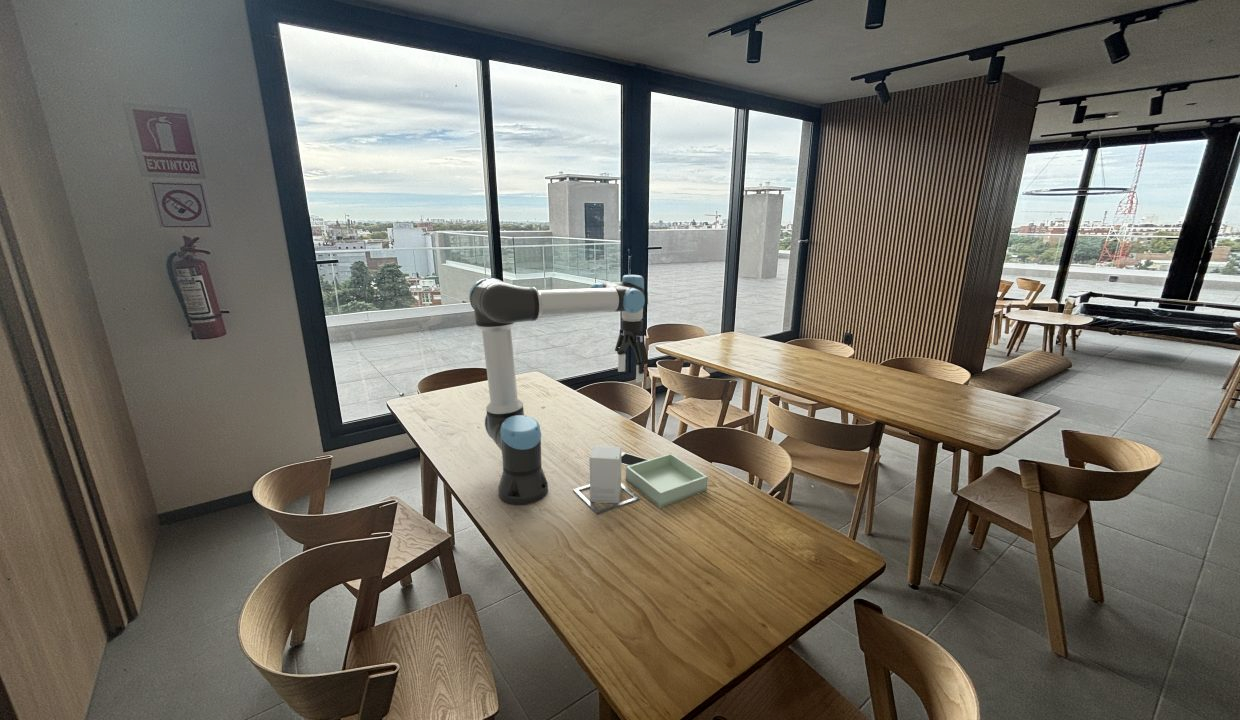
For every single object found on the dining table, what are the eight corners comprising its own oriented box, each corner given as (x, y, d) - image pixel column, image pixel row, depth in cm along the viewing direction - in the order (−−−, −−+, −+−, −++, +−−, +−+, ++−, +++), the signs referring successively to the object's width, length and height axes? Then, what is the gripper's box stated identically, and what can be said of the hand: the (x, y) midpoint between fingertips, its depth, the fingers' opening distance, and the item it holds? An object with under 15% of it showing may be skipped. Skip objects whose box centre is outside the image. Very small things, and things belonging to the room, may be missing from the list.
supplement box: (621, 488, 156) (622, 445, 152) (618, 504, 147) (619, 459, 143) (593, 486, 157) (593, 444, 153) (589, 502, 148) (589, 457, 144)
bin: (660, 508, 146) (660, 493, 144) (625, 480, 161) (626, 466, 159) (706, 490, 156) (707, 476, 154) (670, 466, 171) (671, 453, 169)
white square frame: (597, 514, 142) (597, 513, 142) (573, 490, 154) (573, 489, 154) (639, 499, 150) (639, 498, 150) (613, 478, 162) (613, 476, 162)
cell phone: (621, 453, 180) (621, 451, 180) (660, 464, 172) (660, 462, 172) (610, 461, 174) (610, 460, 174) (650, 473, 166) (650, 472, 166)
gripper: (660, 325, 165) (657, 385, 171) (624, 312, 186) (623, 366, 192) (640, 327, 162) (638, 387, 167) (606, 313, 183) (605, 368, 188)
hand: (630, 376), depth 180 cm, fingers open, 13 cm apart
